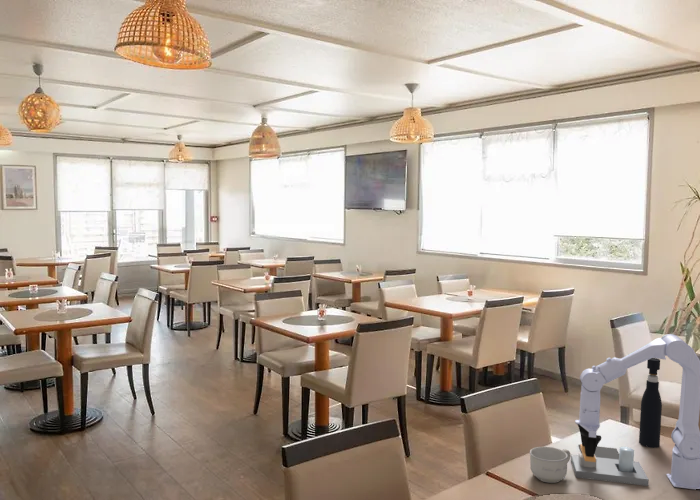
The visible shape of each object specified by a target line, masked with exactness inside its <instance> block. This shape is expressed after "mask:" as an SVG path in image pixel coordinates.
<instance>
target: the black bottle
mask: <svg viewBox="0 0 700 500" xmlns="http://www.w3.org/2000/svg"><path fill="white" fill-rule="evenodd" d="M646 361H647V364H646V365H647V366H646V369H647V370H648V375H647V377H646V378H647V380H646V383H645V390H644V391H643V394H642V396H641V400H640V415H639V431H638V432H639V435H638V443H639V444H640V445H641V446H643V447H645V448H648V449H649V448H650V449H658V448H659V447H660V445H661V427H662V411H663V409H662V408H663V403H662V397H661V394H660V391H659V387H660V386H659V385H660V383H659V376H658V371H659V370H661V369H660V368H661V359H658V358H651V359H649V360H646Z"/></svg>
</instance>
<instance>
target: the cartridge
mask: <svg viewBox="0 0 700 500" xmlns="http://www.w3.org/2000/svg"><path fill="white" fill-rule="evenodd" d="M618 453H619V468H618V471H622V472H631V473H633V461H634V459H635V450H634V449H633V448H632V447H629V446H620V447H619V450H618Z"/></svg>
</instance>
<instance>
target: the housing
mask: <svg viewBox="0 0 700 500" xmlns="http://www.w3.org/2000/svg"><path fill="white" fill-rule="evenodd" d="M570 454H571V453H570ZM594 455H595V454H594ZM595 458H596V462H589V461H585V460H584V457H583V454H582V453H581V452H578V454H571V457H570V461H571V462H570V463H571V465H572V468H573V471H574V476H575V478H579V479H588V480H595V481H602V482H603V481H604V482H612V483H619V484H628V485H636V486H637V485H638V486H643V487H648V486H649V480H650V479H649V478H648V476H647V474H646V472H645V470H644V469H643V466H642V465H641V463H640V461H636V460H635V461H633V473H631V472H622V471H618V468H619V460H618V459H609V458H600V457H596V456H595Z"/></svg>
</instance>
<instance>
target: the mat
mask: <svg viewBox="0 0 700 500" xmlns="http://www.w3.org/2000/svg"><path fill="white" fill-rule="evenodd" d="M580 444H581V443H580ZM580 444H578V447H579V452H580V453H582V451H581V448H580ZM595 456H596V457H600V458H609V459H618V460H619V450H618V449H617V448H616V447H605V446H599V445H597V447H596V451H595Z"/></svg>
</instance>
